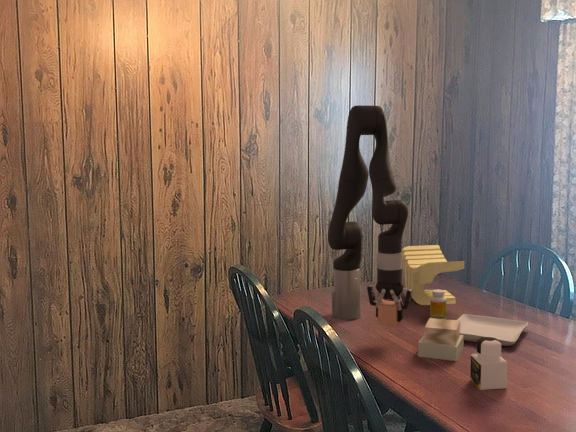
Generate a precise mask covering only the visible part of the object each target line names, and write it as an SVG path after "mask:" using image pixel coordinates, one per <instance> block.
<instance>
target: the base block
mask: <svg viewBox="0 0 576 432" xmlns="http://www.w3.org/2000/svg"><path fill="white" fill-rule="evenodd" d="M424 341H425V333H423V335H422V337H421V338H420V339H419V341H418V342H417V357H420V358H429V359H436V360H445V361H451V362H452V361H453V362H457V361H458V360H459V357H460V356H461V354H462V352H463V351H464V342H465V340H464V335H460V337H459V340H458V342H457V345H448V344H438V343H427V342H424Z"/></svg>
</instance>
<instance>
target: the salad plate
mask: <svg viewBox="0 0 576 432" xmlns="http://www.w3.org/2000/svg"><path fill="white" fill-rule="evenodd" d="M456 320H459V321H460V335H464V341H465V342H466V341H467V342H474V343H477V340H478V339H480V338H483V337H493V338H496V339H498V340H500V341H501V347H509V346H513V345H515V344H516V342H517V341H518V340H519V337H520V335H521V333H522V332H523V331H524V330H525V329H527V327H528V325H529V322H528V321H522V320H516V319H515V320H514V319H509V318H503V317H502V318H501V317H495V316H488V315H487V316H486V315H477V314H470V313H469V314H468V313H463V314H462V315H460V316H459V317H458V318H457V319H456Z"/></svg>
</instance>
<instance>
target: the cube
mask: <svg viewBox="0 0 576 432" xmlns="http://www.w3.org/2000/svg"><path fill="white" fill-rule="evenodd" d="M397 310H398V308H397V306H396V304H395V302H394V300H388V299H384V300H383V302H381V304H379V305H378V318H377V324H378V325H380V326H381V325H383V326H390V327H397V325H399V324H400V322H397Z"/></svg>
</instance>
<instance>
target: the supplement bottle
mask: <svg viewBox="0 0 576 432" xmlns="http://www.w3.org/2000/svg"><path fill="white" fill-rule="evenodd" d="M432 290H433V291H432V295H433V296H432V297H431V298H430V305H429V309H430V310H429V311H430V312H429V314H430V315H429V316H430V317H429V318H435V319H447V305H448V304H447V300H446V297H444V290H445V289H439V288H437V289H432Z"/></svg>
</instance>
